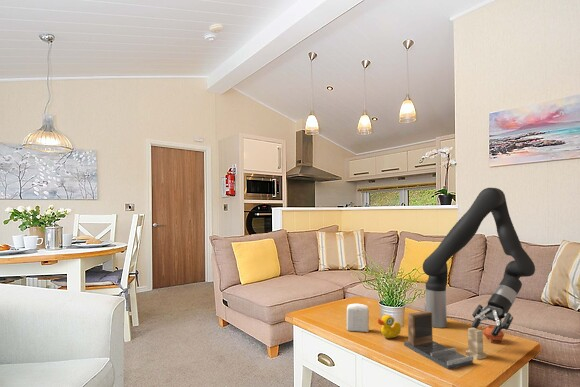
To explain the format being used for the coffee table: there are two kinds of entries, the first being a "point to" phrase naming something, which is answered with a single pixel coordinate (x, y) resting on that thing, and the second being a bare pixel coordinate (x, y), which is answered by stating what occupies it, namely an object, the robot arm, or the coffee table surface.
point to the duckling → (389, 326)
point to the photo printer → (357, 318)
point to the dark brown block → (420, 327)
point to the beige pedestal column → (475, 343)
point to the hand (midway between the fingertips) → (483, 331)
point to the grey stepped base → (441, 354)
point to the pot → (488, 334)
